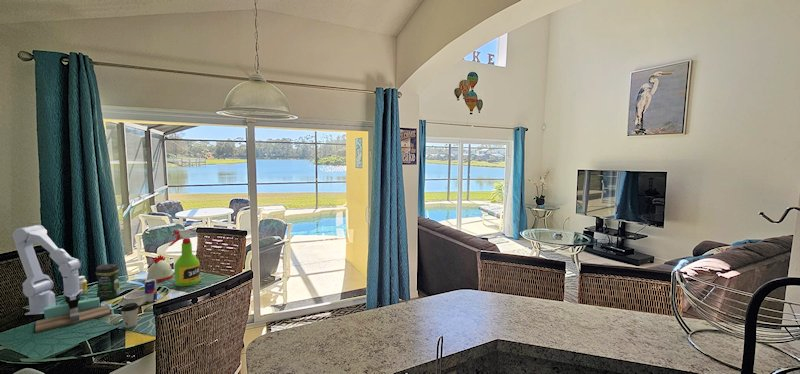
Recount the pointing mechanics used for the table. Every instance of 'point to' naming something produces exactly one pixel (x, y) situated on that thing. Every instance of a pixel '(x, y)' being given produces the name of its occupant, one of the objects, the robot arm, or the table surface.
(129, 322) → the coffee cup
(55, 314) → the batten
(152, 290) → the energy drink
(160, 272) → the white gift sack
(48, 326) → the balance board
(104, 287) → the coffee jar
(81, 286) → the supplement bottle
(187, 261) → the spray bottle
